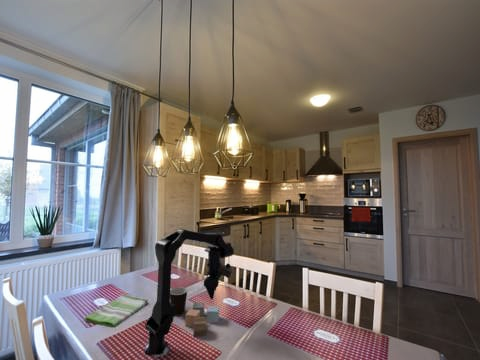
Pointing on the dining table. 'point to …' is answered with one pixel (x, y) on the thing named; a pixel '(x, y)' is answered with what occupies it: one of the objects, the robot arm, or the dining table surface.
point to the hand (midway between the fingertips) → (213, 294)
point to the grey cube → (213, 314)
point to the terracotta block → (191, 317)
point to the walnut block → (199, 326)
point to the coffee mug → (178, 299)
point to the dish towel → (117, 310)
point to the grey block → (199, 307)
